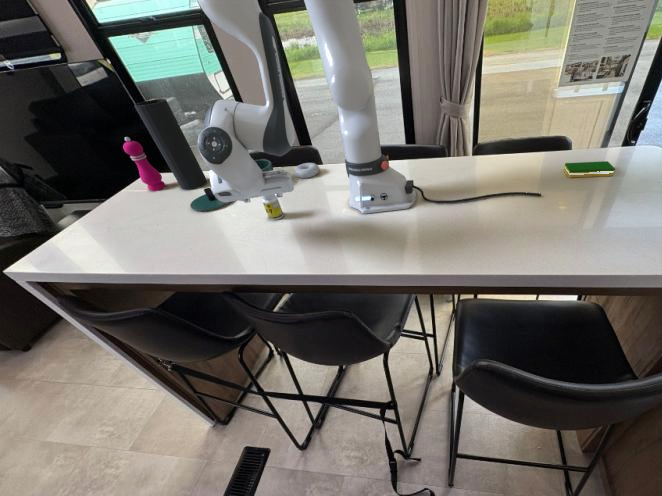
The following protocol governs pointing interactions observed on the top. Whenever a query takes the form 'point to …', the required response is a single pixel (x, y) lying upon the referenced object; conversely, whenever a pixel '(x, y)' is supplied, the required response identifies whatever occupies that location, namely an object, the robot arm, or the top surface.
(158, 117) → the vase
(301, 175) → the donut
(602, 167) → the dish sponge
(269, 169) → the pot
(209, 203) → the lid
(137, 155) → the pepper mill
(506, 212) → the top surface
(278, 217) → the supplement bottle
